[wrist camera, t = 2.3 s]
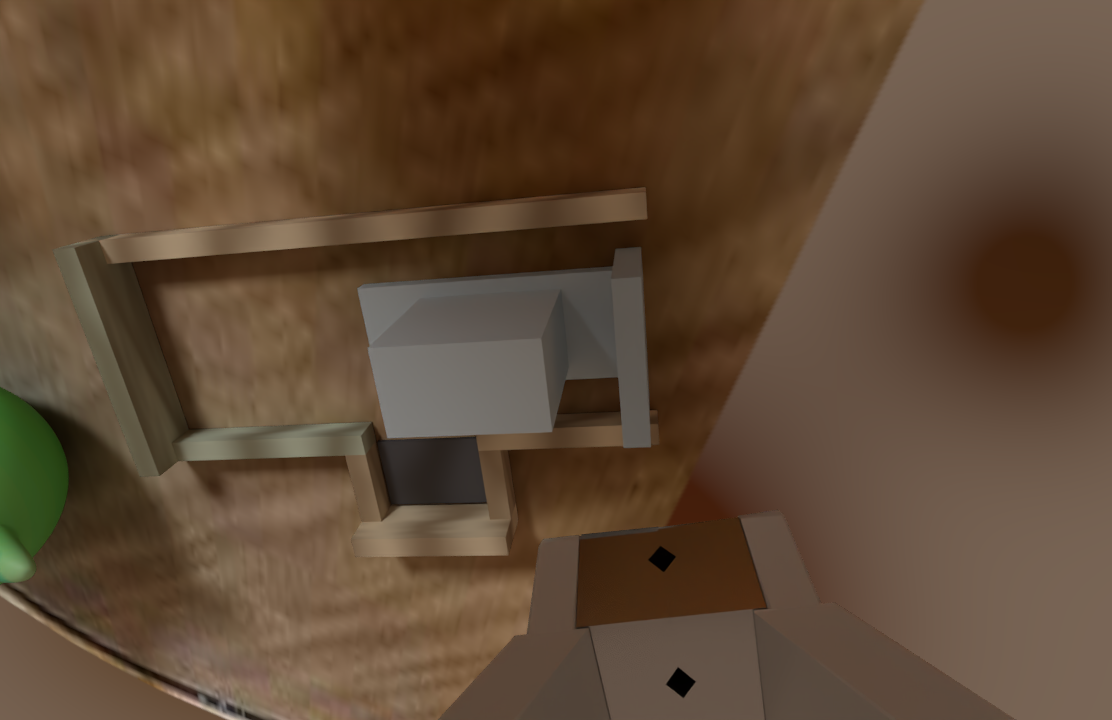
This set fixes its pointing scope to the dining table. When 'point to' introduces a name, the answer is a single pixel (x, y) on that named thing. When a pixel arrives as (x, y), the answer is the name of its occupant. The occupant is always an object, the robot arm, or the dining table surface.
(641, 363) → the bookend block
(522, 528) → the dining table surface
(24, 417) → the toy bird
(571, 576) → the robot arm
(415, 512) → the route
